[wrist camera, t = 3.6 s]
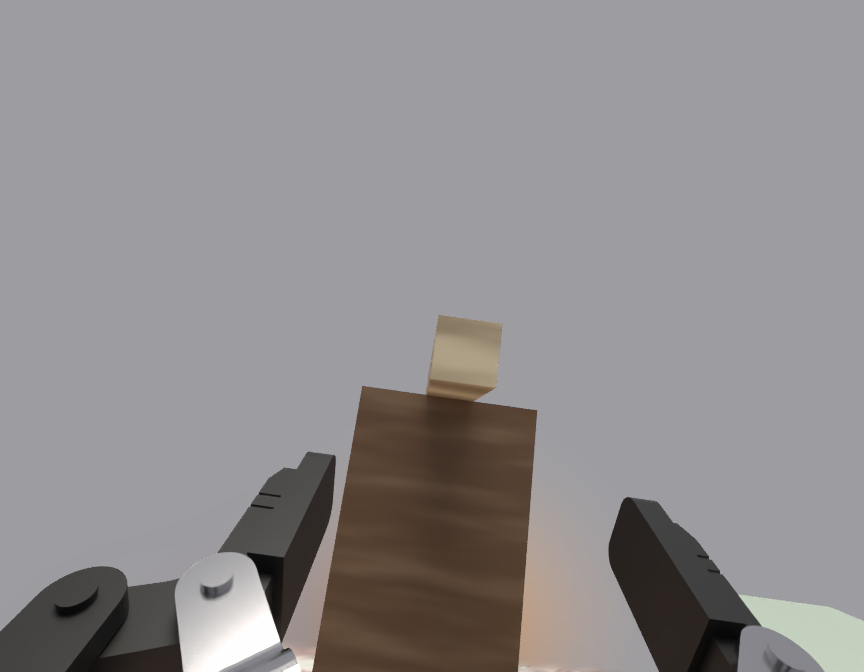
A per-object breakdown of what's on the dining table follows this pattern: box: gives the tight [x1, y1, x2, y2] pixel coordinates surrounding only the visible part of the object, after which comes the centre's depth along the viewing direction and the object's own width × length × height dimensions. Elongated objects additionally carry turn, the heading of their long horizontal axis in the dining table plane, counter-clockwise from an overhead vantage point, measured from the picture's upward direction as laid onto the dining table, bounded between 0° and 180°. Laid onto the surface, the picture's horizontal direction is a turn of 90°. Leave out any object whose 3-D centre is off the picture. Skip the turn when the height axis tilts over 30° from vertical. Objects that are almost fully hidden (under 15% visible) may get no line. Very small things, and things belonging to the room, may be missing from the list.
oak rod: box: [426, 315, 502, 401], centre depth 31 cm, size 22×3×3 cm, turn 2°
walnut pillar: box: [312, 386, 537, 672], centre depth 31 cm, size 14×12×32 cm
